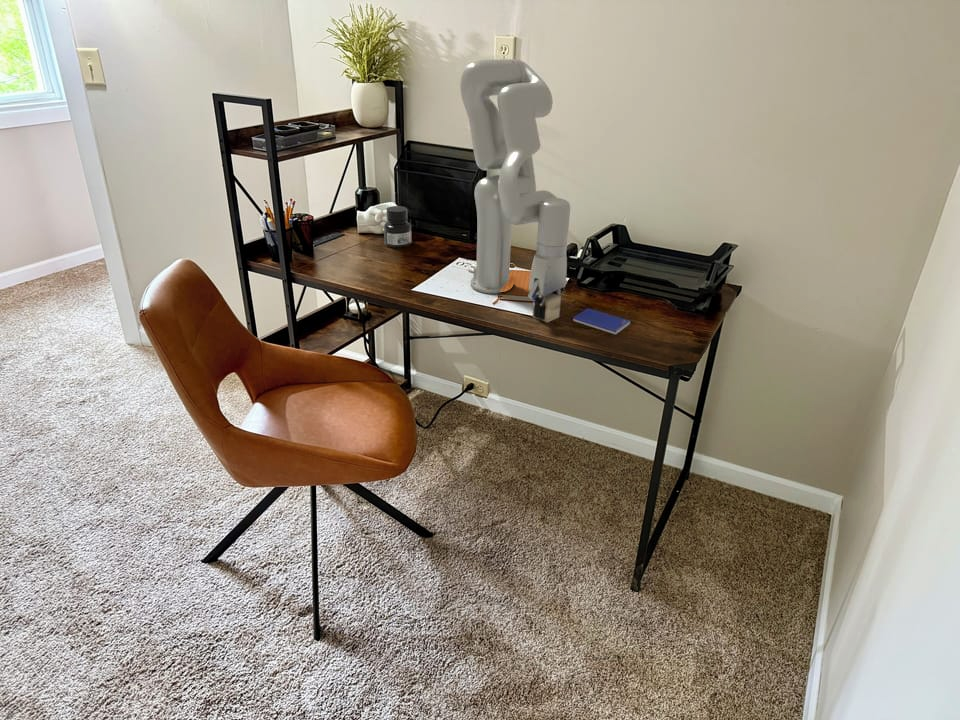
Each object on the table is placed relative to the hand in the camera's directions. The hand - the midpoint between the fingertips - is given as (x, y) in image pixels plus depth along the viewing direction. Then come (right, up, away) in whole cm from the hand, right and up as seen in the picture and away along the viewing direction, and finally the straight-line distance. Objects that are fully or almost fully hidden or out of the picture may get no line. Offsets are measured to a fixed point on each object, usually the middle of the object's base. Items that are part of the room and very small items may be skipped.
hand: (546, 314), depth 176 cm
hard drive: (+14, -3, -1) cm, 15 cm away
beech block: (0, -1, 0) cm, 1 cm away
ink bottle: (-45, +27, +48) cm, 71 cm away
